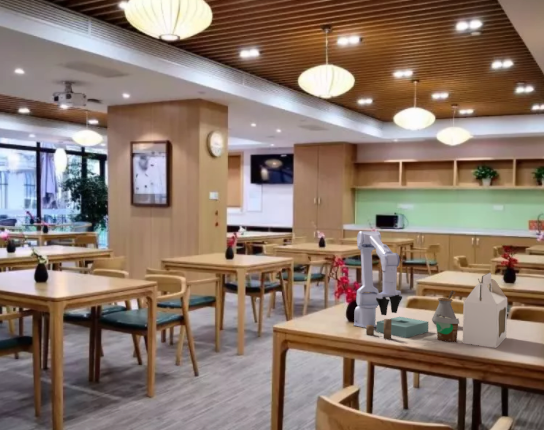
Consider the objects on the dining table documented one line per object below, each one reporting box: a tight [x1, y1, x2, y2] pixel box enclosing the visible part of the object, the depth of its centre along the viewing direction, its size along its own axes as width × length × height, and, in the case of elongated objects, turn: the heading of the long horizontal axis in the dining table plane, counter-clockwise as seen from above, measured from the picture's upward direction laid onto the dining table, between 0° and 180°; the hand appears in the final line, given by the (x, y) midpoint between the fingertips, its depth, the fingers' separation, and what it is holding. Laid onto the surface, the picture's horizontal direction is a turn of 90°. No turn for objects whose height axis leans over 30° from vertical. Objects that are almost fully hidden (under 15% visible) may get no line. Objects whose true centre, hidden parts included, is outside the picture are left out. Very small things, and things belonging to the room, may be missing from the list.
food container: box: [435, 314, 460, 343], centre depth 241 cm, size 12×6×10 cm, turn 21°
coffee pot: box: [431, 290, 457, 327], centre depth 273 cm, size 21×12×15 cm, turn 149°
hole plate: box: [376, 316, 429, 339], centre depth 256 cm, size 15×18×4 cm
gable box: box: [462, 272, 508, 349], centre depth 242 cm, size 22×13×28 cm, turn 148°
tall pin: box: [383, 318, 392, 340], centre depth 243 cm, size 3×3×8 cm
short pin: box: [365, 325, 375, 337], centre depth 249 cm, size 3×3×4 cm
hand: (389, 313), depth 243 cm, fingers open, 7 cm apart
